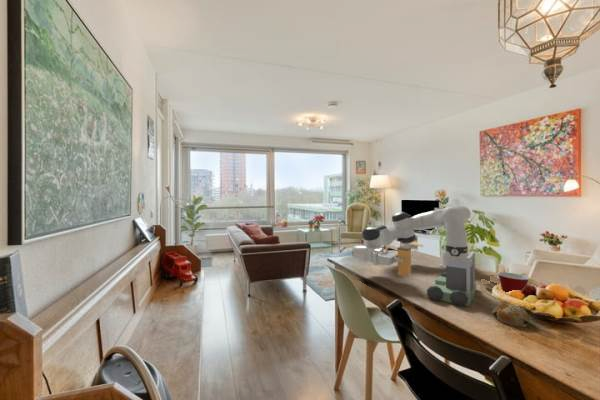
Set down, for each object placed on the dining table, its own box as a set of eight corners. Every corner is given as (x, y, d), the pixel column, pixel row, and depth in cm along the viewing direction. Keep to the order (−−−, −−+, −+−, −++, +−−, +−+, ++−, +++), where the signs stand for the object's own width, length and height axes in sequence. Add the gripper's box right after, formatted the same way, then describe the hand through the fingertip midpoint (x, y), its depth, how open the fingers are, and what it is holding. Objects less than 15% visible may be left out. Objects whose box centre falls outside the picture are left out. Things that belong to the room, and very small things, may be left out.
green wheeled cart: (440, 282, 140) (440, 245, 140) (476, 288, 130) (476, 249, 130) (425, 298, 118) (425, 255, 118) (468, 308, 108) (468, 260, 108)
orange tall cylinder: (401, 272, 141) (400, 246, 141) (411, 274, 138) (411, 247, 138) (397, 274, 137) (397, 247, 137) (408, 276, 134) (407, 248, 134)
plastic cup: (533, 303, 112) (533, 275, 112) (524, 310, 106) (524, 280, 106) (503, 295, 121) (503, 269, 121) (492, 301, 115) (492, 273, 115)
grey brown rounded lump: (513, 338, 92) (525, 321, 89) (484, 315, 100) (494, 298, 97) (527, 331, 97) (539, 314, 94) (499, 309, 105) (509, 294, 102)
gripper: (387, 257, 154) (412, 261, 145) (372, 265, 138) (399, 269, 129) (387, 246, 154) (412, 249, 145) (372, 253, 138) (399, 256, 129)
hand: (406, 259), depth 137 cm, fingers closed on orange tall cylinder, 5 cm apart
